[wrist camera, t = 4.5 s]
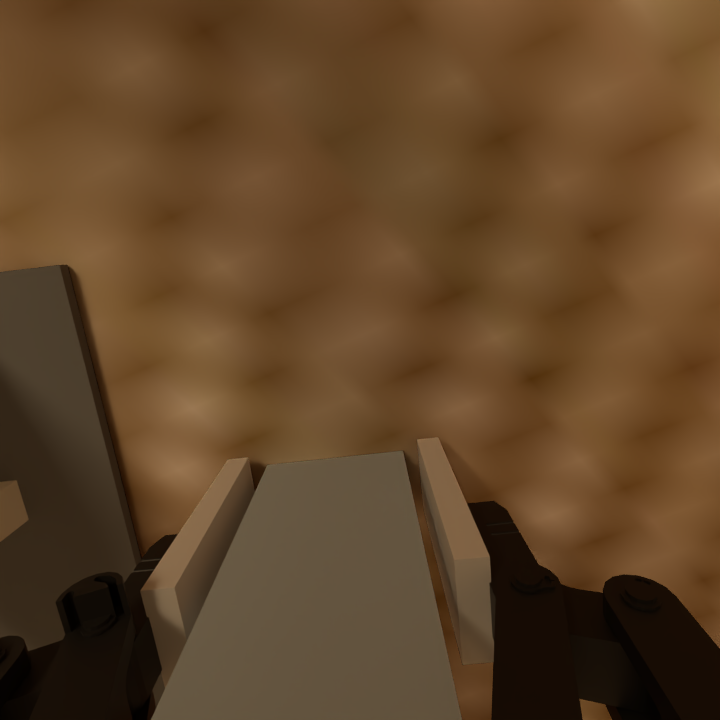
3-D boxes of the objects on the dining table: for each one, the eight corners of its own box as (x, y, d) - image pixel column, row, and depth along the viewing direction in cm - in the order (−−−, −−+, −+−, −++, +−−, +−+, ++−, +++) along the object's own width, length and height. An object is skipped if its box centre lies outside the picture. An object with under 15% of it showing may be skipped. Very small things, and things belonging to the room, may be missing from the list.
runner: (-279, 305, 15) (-295, 307, 15) (67, 264, 15) (59, 265, 14) (-17, 922, 22) (-24, 934, 21) (227, 903, 21) (225, 914, 21)
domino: (267, 464, 16) (130, 764, 7) (403, 450, 16) (465, 734, 7) (274, 504, 17) (153, 842, 7) (406, 490, 17) (471, 816, 7)
